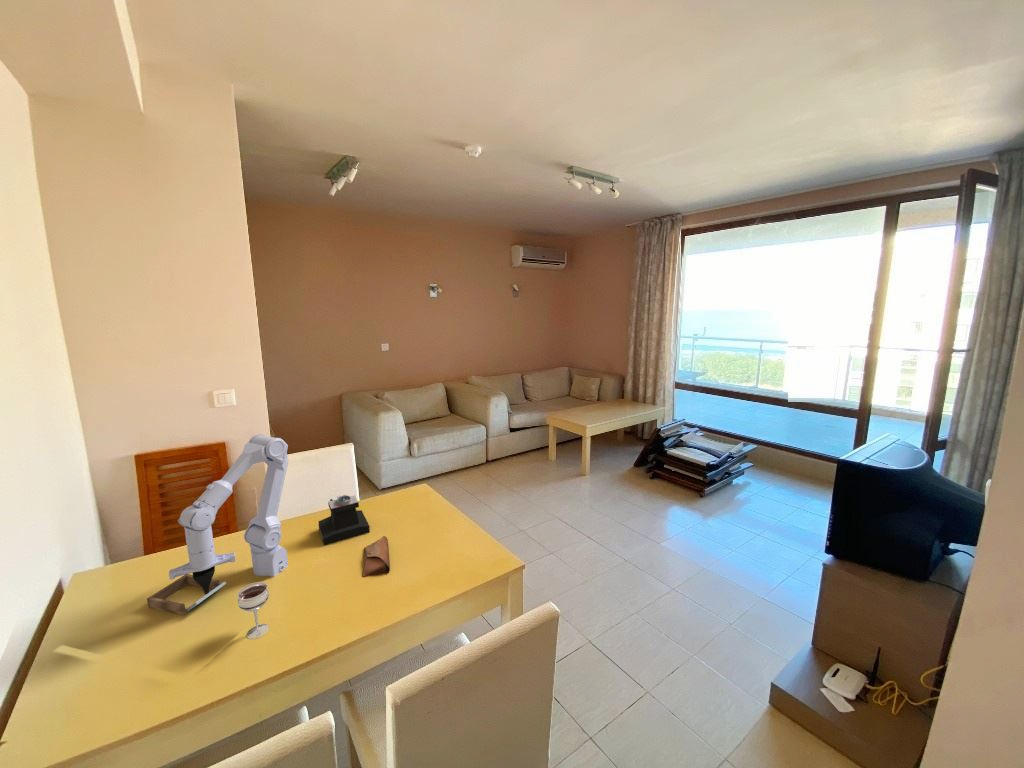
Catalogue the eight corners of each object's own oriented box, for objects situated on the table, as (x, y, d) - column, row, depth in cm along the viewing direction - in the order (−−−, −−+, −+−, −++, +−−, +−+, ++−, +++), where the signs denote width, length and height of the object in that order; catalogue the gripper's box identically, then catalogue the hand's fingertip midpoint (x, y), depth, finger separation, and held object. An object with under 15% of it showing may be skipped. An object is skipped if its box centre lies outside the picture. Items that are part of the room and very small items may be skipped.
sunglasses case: (362, 546, 144) (371, 530, 144) (381, 552, 146) (390, 536, 146) (362, 578, 127) (372, 559, 127) (383, 584, 130) (393, 566, 130)
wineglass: (266, 617, 111) (262, 578, 109) (277, 629, 107) (272, 589, 105) (238, 632, 106) (232, 591, 104) (247, 646, 102) (242, 603, 99)
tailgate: (216, 590, 120) (226, 583, 118) (187, 612, 111) (197, 604, 110) (215, 588, 120) (224, 581, 118) (185, 609, 111) (195, 602, 110)
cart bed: (220, 591, 121) (218, 579, 120) (183, 618, 110) (181, 605, 110) (188, 585, 124) (186, 573, 123) (149, 611, 113) (146, 598, 112)
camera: (321, 512, 141) (314, 492, 153) (324, 548, 145) (317, 526, 157) (368, 501, 150) (358, 483, 162) (369, 535, 153) (360, 514, 165)
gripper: (232, 533, 119) (237, 575, 121) (168, 549, 111) (175, 594, 113) (233, 544, 113) (238, 588, 116) (165, 562, 105) (172, 609, 108)
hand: (207, 592), depth 114 cm, fingers closed, pressing on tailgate
